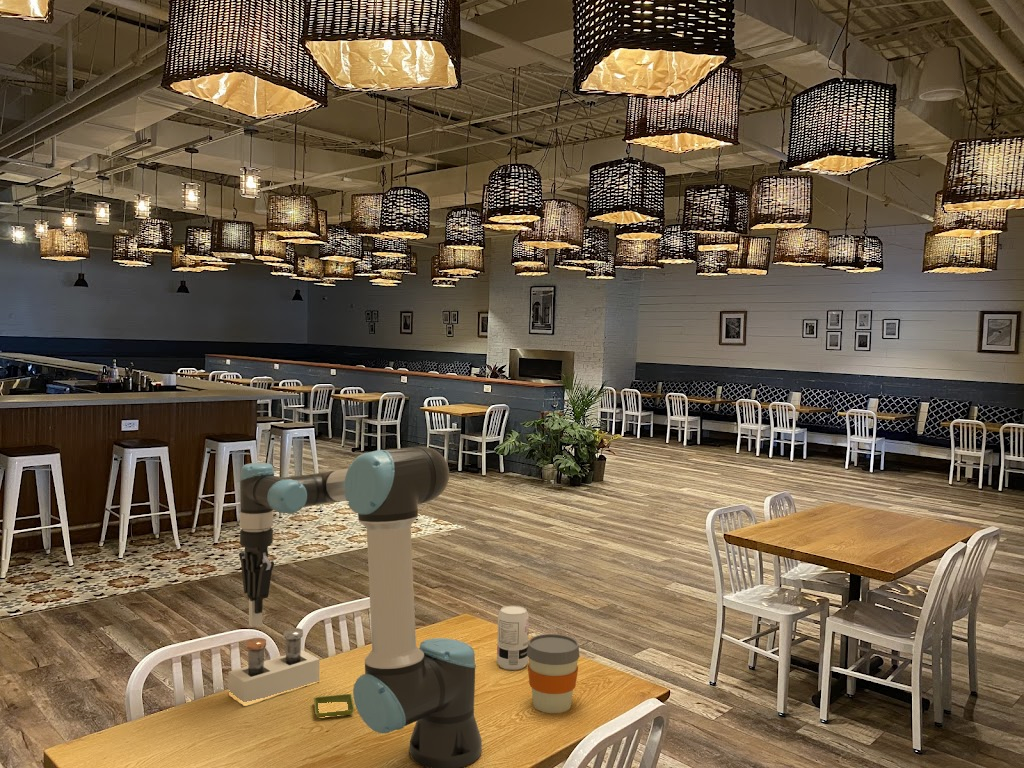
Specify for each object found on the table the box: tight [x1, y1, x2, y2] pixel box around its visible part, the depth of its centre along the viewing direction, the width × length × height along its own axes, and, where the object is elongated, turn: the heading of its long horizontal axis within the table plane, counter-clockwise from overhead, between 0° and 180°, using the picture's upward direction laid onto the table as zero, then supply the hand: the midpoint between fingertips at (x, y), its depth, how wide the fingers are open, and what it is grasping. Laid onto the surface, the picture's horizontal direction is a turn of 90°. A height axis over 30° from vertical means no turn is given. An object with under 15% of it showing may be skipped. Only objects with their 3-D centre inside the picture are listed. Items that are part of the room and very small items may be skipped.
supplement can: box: [496, 605, 530, 671], centre depth 213 cm, size 8×8×15 cm
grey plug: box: [283, 627, 304, 665], centre depth 199 cm, size 5×5×8 cm
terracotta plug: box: [245, 637, 267, 677], centre depth 192 cm, size 5×5×8 cm
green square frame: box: [313, 693, 355, 718], centre depth 185 cm, size 9×9×2 cm
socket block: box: [227, 649, 320, 702], centre depth 196 cm, size 20×8×6 cm, turn 135°
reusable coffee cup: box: [527, 633, 580, 714], centre depth 190 cm, size 13×13×15 cm
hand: (255, 625), depth 192 cm, fingers closed
